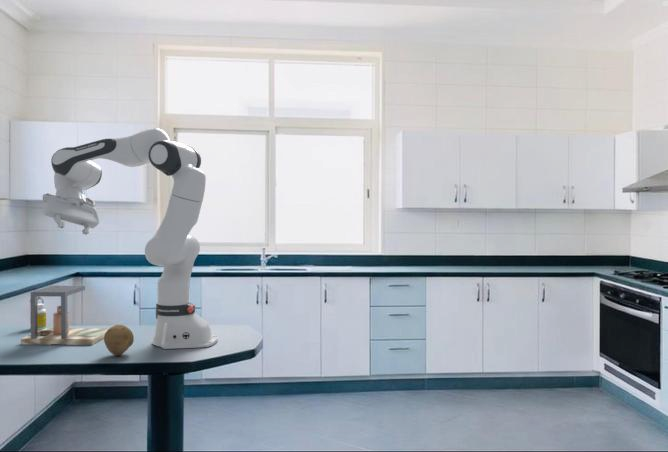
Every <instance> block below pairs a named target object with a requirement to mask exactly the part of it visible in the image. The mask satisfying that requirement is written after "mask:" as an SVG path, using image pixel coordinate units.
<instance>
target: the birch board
mask: <svg viewBox="0 0 668 452" xmlns="http://www.w3.org/2000/svg"><path fill="white" fill-rule="evenodd" d="M108 329H109V328H81V327H80V328H75V327H74V328H72V327H71V328H70V327H69V333H68V338H67V339H61V335H54V332H53V328H51V327H50V328H49V327H46V328H45V329H41V330H38V338H36V339H31V334H29V335H26V336H24V337H22V338H20V345H34V346H35V345H42V346H43V345H44V346H45V345H47V346H49V345H50V346H51V344H66V345H67V346H69V345H70V346H71V345H73V346H74V345H75V346H80V345H81V346H83V345H84V346H93V345H96V344H97V343H98V342H100V341H102V340H104V335H105V333H106V331H107V330H108ZM66 345H65V346H66Z"/></svg>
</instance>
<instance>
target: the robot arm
mask: <svg viewBox="0 0 668 452" xmlns="http://www.w3.org/2000/svg"><path fill="white" fill-rule="evenodd" d="M97 159H103V160H104V159H105V160H109V161H111V162H115V163H118V164H121V165H123V166H126V167H131V168H134V167H140V166H144V165H146V164H148V163H150V164H151V165H152V166H153V167H154V168H155V169H157V170H158V171H160V172H162V174H164V175H166V176H167V177H168V176H169V177H170V176H172V179H173V186H172V188H171V191H170V192H171V193H170V198H169V200H168V201H169V202H168V205H167V208H166V212H165V215H164V217H163V219H162V221H161V223H160V225H159V227H158V229H157V231H156V232H155V233H154V236H153V237H152V238H151V239H149V240H148V241H147V243H146V244H145V247H144V256H145V258H146V260H147V261H148V263H149V264H151V265H154V266H158V267H163V272H162V273H161V276H160V277H159V279H158V281H157V285H156V286H157V291H156V293H157V295H156V297H157V302H156V305H155V306H156V307H155V319H156V325H155V330H154V336H153V339H152V345H153V346H156V347H160V348H161V349H163V350H173V349H192V348H193V349H195V348H208V347H211V346H214V345H215V344H216V343H217V342H218V337H217V336H216V334H212V329H211V325H210V323H209V322H208V321H207V320H205V319H204V318H203V317H201V316H200V315H199V314H197V313H196V303H194V304H193V303H192V302H191V301H190V293H191V291H190V287H191V286H190V285H191V277H192V276H191V275H192V272H193V268H194V263H195V261H196V259H197V257H198V255H199V253H200V249H201V247H200V242H199V241H198V239H197V238H196V237H195V236H193V235H191V234H190V232H191V231H192V229H193V228H194V227H195V225H196V224H197V222H198V221H199V215H200V212H201V209H202V205H203V201H204V196H205V191H206V180H207V179H206V178H207V177H206V174H205V172H204V171H202V170H201V169H200V168H201V164H202V158H201V154H200V153H199V152H198V150H196V149H195V148H193V147H192V146H189V145H185V144H184V143H180V142H177V141H172V140H170V138H169V136H168V134H167V132H166V131H164V130H163V129H160V128H151V129H147V130H143V131H140V132H137V133H135V134H132V135H130V136H125V137H119V138H103V139H98V140H94V141H92V142H89V143H83V144H81V145H78V146H77V145H76V146H73V147H72V146H70V147H68V146H67V147H63V148H60V149H58V150H56V152H54V153H53V154H52V156H51V162H50V163H51V167H52V170H53V172H54V176H53V177H54V178H53V181H54V182H53V183H54V188H55V190H56V191H55V194H51V193H43V194H42V201H43V203H42V213H43V215H44V216H46V217H49V218H53V220H54V222H55V223H56V225H57V228H59V229H63V228H65V222H68V223H70V224H71V223H72V224H75V225H79V226H82V227H83V229H82V230H81V232H82V234H83V235H85V236H86V235H88V234H90V229H94V228H96V227H97V226H98V225H99V224H100V216H99V213H98V210H97V208H96V202H95V201H94V200H92V199H90V198H89V197H87V195H85V194H83V191H87V190H89V189H91V188H94V187H95V186H97V185H98V184H99V183H100V182H101V179H102V175H103V171H102V167H101V166H100V165H98V164H97V163H95V162H93V160H97Z"/></svg>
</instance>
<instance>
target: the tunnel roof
mask: <svg viewBox="0 0 668 452" xmlns="http://www.w3.org/2000/svg"><path fill="white" fill-rule="evenodd" d="M83 291H86V286H85V285H50V286H46V287H43V288H40V289H36V290H33V291H30V313H31V314H30V335H31V339H36V338H38V331H39V330H38V318H37V304H38V297H60V306H61V339H67V338H68V312H69V311H68V296H70V295H74V294H76V293H77V294H78V293H79V292H83Z"/></svg>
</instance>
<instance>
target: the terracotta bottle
mask: <svg viewBox="0 0 668 452" xmlns="http://www.w3.org/2000/svg"><path fill="white" fill-rule="evenodd" d="M69 313H70V312H69V311H68V333H69V328H70V321H69V320H70V314H69ZM52 315H53V318H52V319H53V320H52V321H53V325H52V327H53V332H54V335H61V305H58V306H57V307H56V312H54V313H53V314H52Z"/></svg>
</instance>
